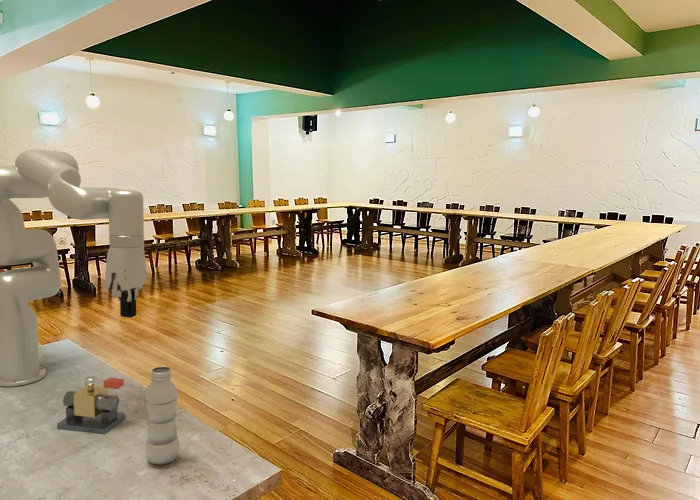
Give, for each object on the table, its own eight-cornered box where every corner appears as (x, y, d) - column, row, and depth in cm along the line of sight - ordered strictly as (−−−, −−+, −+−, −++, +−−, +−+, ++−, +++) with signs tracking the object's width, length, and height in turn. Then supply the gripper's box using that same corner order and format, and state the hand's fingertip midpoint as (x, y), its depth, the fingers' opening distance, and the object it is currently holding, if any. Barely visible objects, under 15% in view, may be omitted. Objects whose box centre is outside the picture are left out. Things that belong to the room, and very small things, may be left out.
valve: (57, 428, 113) (55, 388, 112) (80, 412, 121) (79, 375, 119) (104, 434, 111) (103, 393, 110) (125, 417, 119) (124, 379, 118)
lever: (82, 385, 114) (82, 379, 113) (89, 381, 116) (89, 375, 116) (117, 389, 112) (117, 382, 112) (124, 384, 115) (123, 378, 114)
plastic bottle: (168, 471, 98) (167, 377, 96) (138, 466, 100) (136, 373, 97) (185, 454, 105) (184, 365, 102) (157, 449, 106) (155, 362, 103)
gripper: (131, 237, 124) (132, 307, 126) (91, 244, 109) (94, 323, 112) (158, 239, 123) (159, 309, 125) (122, 246, 108) (123, 326, 111)
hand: (128, 316), depth 118 cm, fingers closed
